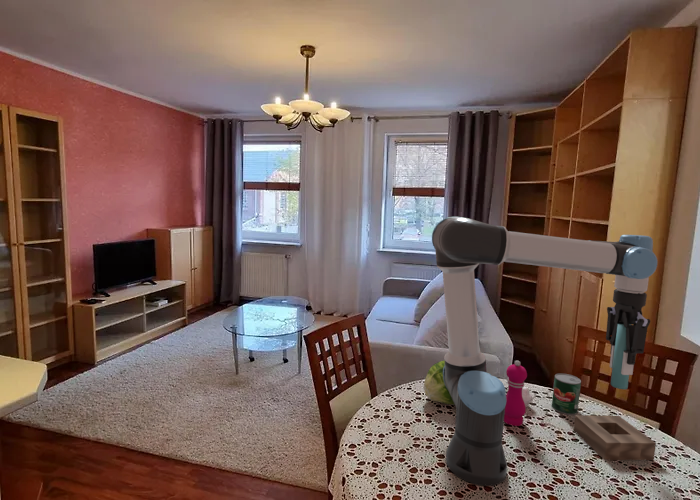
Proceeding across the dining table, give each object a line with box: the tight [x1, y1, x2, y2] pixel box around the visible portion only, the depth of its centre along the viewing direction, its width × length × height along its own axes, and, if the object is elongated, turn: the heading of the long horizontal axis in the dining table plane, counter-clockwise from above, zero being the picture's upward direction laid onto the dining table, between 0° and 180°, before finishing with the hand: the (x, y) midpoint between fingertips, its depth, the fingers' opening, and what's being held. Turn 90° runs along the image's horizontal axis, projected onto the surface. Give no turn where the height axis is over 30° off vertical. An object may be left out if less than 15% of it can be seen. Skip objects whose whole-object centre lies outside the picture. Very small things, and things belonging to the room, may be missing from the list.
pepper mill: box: [504, 360, 528, 427], centre depth 124 cm, size 7×7×20 cm
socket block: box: [573, 414, 657, 461], centre depth 114 cm, size 14×14×5 cm
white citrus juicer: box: [522, 385, 533, 408], centre depth 135 cm, size 6×6×7 cm
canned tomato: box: [551, 373, 582, 416], centre depth 133 cm, size 8×8×11 cm
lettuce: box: [423, 360, 455, 406], centre depth 136 cm, size 16×21×15 cm
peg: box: [610, 324, 632, 390], centre depth 111 cm, size 4×4×18 cm
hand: (620, 370), depth 112 cm, fingers closed on peg, 4 cm apart
